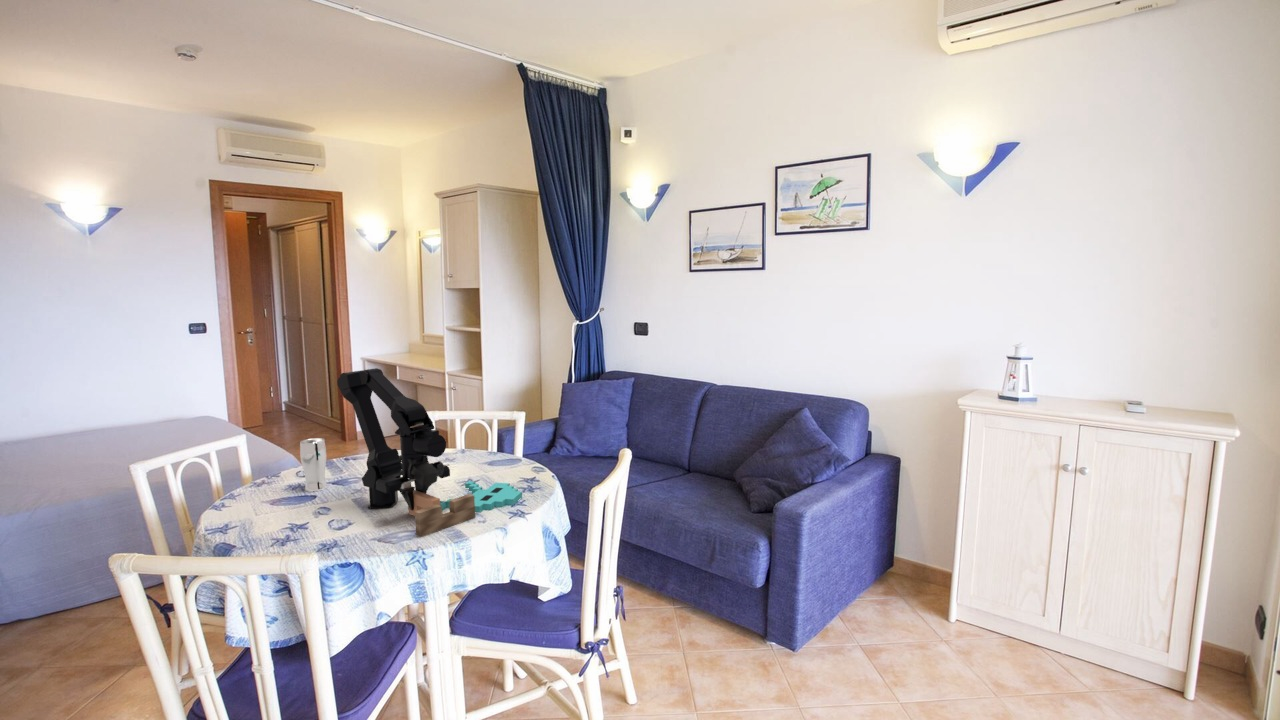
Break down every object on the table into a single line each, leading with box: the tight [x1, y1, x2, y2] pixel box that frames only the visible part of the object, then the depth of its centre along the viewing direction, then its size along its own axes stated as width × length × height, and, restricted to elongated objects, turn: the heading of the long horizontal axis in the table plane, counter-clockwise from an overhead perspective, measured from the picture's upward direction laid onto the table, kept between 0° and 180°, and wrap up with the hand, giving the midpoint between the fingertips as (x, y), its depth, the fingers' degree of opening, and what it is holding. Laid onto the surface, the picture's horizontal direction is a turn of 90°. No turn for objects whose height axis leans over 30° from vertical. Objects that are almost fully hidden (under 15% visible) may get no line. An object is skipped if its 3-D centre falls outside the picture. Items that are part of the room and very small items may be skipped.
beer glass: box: [299, 437, 328, 493], centre depth 190 cm, size 7×7×15 cm
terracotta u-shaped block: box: [408, 489, 441, 517], centre depth 165 cm, size 12×2×6 cm, turn 51°
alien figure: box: [440, 480, 523, 513], centre depth 178 cm, size 20×2×20 cm
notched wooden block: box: [414, 493, 476, 538], centre depth 158 cm, size 16×2×6 cm, turn 141°
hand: (416, 508), depth 167 cm, fingers closed on terracotta u-shaped block, 2 cm apart
